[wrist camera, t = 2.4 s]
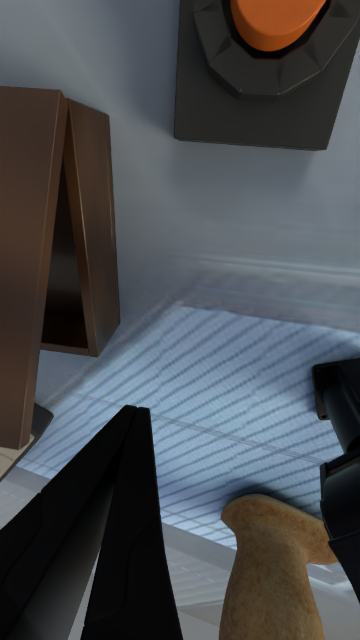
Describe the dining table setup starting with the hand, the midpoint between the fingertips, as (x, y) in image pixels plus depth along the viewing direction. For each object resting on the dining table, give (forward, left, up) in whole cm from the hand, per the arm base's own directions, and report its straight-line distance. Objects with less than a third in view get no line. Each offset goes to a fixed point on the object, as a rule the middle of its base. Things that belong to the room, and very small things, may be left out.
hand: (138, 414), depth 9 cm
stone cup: (-36, -1, -13) cm, 38 cm away
